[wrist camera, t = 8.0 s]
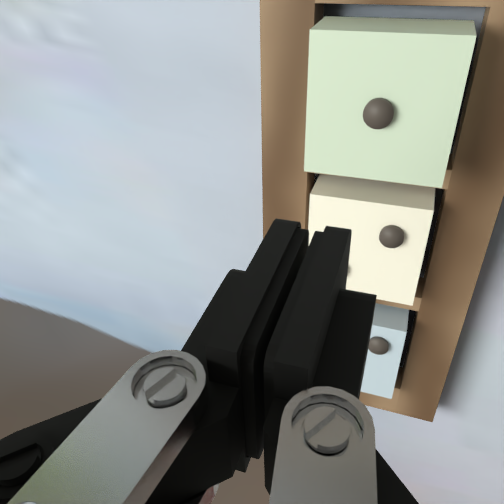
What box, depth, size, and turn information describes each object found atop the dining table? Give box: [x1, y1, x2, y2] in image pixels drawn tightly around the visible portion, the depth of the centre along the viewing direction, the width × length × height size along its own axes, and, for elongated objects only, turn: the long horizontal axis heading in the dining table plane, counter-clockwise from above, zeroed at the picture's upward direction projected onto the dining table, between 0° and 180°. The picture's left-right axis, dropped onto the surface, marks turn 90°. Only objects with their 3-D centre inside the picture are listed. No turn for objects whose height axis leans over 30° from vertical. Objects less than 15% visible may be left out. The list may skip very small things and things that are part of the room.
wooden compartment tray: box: [260, 0, 504, 422], centre depth 27 cm, size 12×28×2 cm, turn 2°
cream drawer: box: [308, 174, 435, 306], centre depth 26 cm, size 6×6×3 cm
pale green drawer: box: [304, 16, 477, 188], centre depth 20 cm, size 6×6×3 cm
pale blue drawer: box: [361, 303, 409, 399], centre depth 31 cm, size 6×6×3 cm
